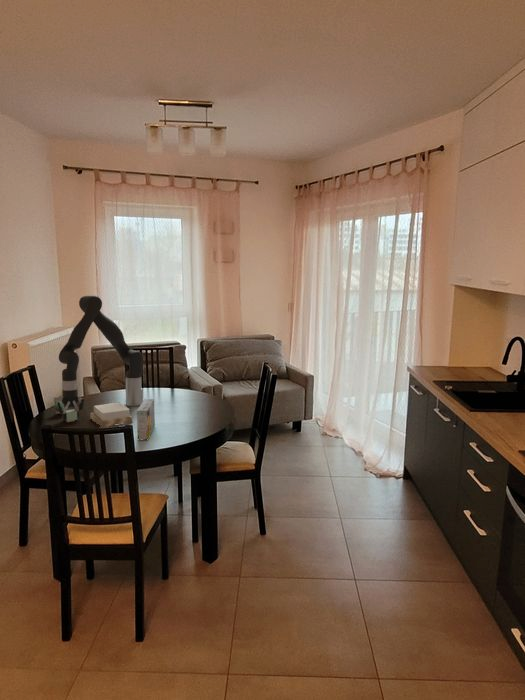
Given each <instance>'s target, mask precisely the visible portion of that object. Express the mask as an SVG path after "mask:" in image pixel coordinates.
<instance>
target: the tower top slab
mask: <svg viewBox="0 0 525 700" xmlns="http://www.w3.org/2000/svg"><path fill="white" fill-rule="evenodd" d="M93 413H95V414H96V415H97V416H98V417H99V418H100V419H101V420H103V421H106V420H112V419H119V418H125V417H130V416H131V414H130V413H131V412H130V408H128V407H127V406H125V405H123V403H121V402H112V403H105V404H98V405H93Z"/></svg>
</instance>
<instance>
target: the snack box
mask: <svg viewBox="0 0 525 700" xmlns="http://www.w3.org/2000/svg"><path fill="white" fill-rule="evenodd" d="M155 419H156V418H155V398H143V402H142V404H141V405H139V407H138V408H137V410H136V421H137V425H136V427H137V440H138V439H148V438H149V439H150V437H151V435H150V434H152V433H153V431H152V430H154V429H155V427H154V426H156V423H155V422H156V421H155ZM153 428H154V429H153ZM151 432H152V433H151ZM149 436H150V437H149ZM149 439H148V440H149Z"/></svg>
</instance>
